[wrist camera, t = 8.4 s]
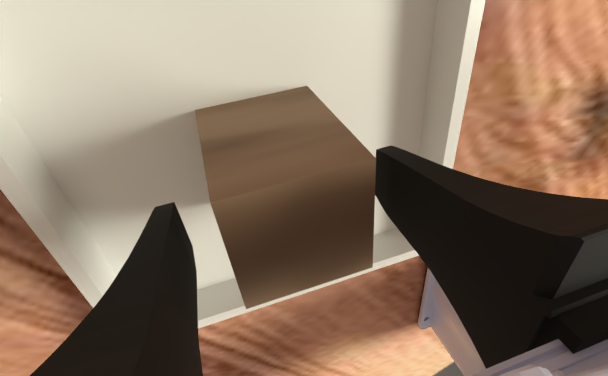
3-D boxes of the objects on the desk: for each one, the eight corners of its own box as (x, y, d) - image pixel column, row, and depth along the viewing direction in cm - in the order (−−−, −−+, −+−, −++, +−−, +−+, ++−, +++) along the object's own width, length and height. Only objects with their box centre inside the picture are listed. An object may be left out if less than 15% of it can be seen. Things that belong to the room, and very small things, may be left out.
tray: (413, 222, 22) (437, 249, 20) (131, 309, 19) (127, 352, 17) (455, -111, 12) (508, -120, 10) (-108, -48, 9) (-181, -43, 7)
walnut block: (315, 176, 17) (372, 267, 12) (222, 201, 16) (246, 309, 11) (307, 85, 14) (376, 158, 10) (194, 109, 13) (210, 202, 9)
